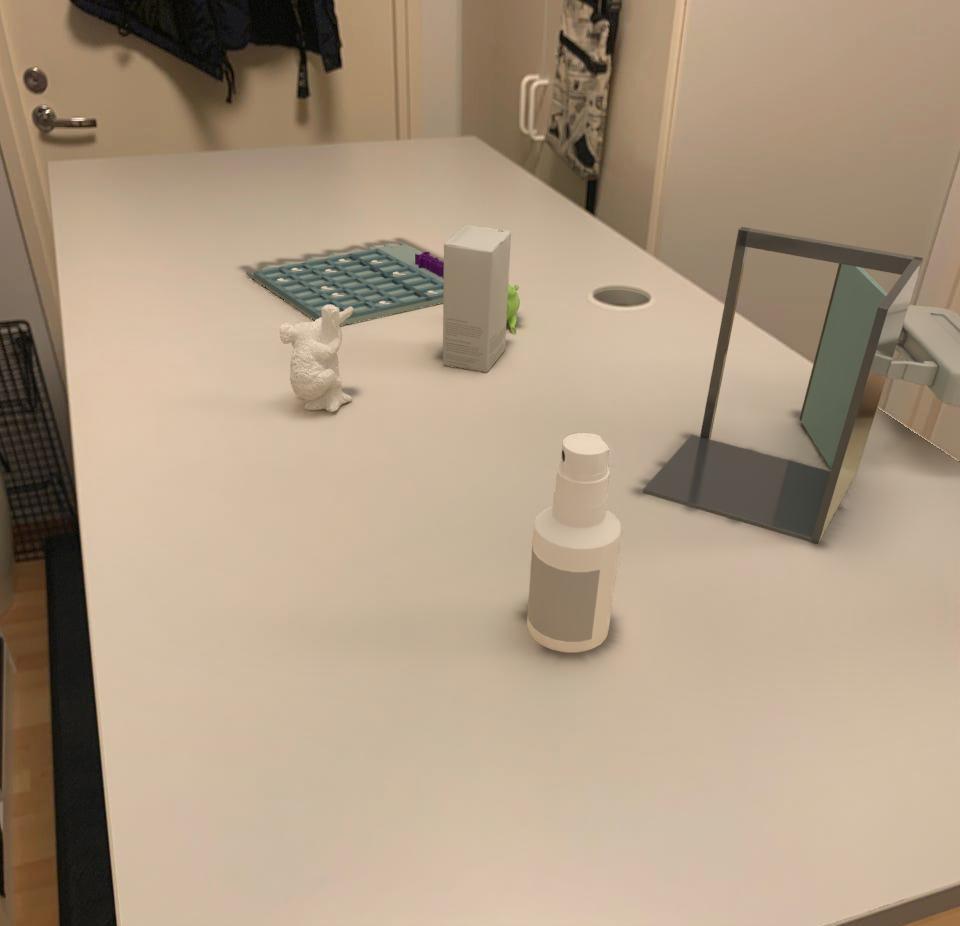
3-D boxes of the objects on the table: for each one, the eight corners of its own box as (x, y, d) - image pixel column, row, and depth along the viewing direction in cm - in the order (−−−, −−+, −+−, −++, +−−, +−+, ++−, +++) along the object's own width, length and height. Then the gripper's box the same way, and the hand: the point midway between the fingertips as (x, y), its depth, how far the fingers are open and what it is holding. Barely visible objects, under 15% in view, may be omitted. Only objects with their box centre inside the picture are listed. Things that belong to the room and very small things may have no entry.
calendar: (245, 275, 148) (243, 260, 146) (398, 245, 161) (398, 231, 159) (327, 331, 131) (325, 314, 130) (491, 292, 144) (491, 276, 142)
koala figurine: (360, 393, 115) (353, 294, 108) (360, 417, 110) (353, 316, 103) (290, 394, 115) (279, 295, 107) (287, 419, 109) (275, 317, 102)
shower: (853, 484, 100) (923, 257, 86) (815, 553, 90) (888, 309, 75) (693, 441, 107) (732, 225, 92) (640, 501, 97) (675, 268, 82)
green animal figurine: (472, 330, 132) (473, 288, 128) (479, 316, 136) (480, 276, 132) (516, 334, 131) (518, 292, 127) (521, 320, 135) (523, 279, 132)
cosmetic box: (463, 343, 128) (464, 223, 118) (509, 350, 126) (514, 229, 117) (440, 366, 122) (440, 241, 112) (489, 374, 120) (492, 248, 110)
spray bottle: (518, 615, 82) (529, 425, 70) (594, 608, 83) (617, 419, 71) (536, 666, 76) (551, 469, 65) (617, 658, 77) (646, 462, 66)
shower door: (889, 477, 101) (949, 299, 89) (834, 476, 101) (887, 298, 89) (848, 419, 111) (897, 254, 99) (799, 419, 111) (841, 253, 99)
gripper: (967, 291, 110) (850, 289, 110) (1049, 362, 94) (912, 359, 94) (949, 344, 114) (836, 342, 114) (1025, 420, 98) (893, 418, 98)
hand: (871, 350), depth 104 cm, fingers open, 8 cm apart
